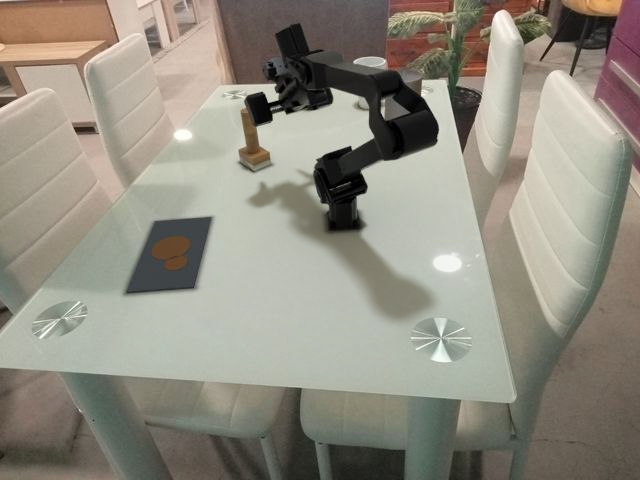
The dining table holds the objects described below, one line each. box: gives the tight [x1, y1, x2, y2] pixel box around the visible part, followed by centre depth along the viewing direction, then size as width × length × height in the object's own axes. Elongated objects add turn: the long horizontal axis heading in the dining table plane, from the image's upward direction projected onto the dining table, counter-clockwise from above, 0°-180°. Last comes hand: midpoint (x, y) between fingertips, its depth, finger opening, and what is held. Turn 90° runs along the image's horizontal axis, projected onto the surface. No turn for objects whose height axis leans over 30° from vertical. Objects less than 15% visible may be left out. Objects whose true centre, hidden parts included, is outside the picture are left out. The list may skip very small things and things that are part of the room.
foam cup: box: [353, 56, 387, 110], centre depth 143 cm, size 10×9×13 cm
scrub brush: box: [237, 107, 272, 172], centre depth 117 cm, size 7×5×14 cm
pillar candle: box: [384, 68, 423, 121], centre depth 129 cm, size 10×10×15 cm
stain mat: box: [125, 216, 212, 294], centre depth 93 cm, size 22×12×1 cm, turn 2°
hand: (278, 112), depth 108 cm, fingers open, 9 cm apart
